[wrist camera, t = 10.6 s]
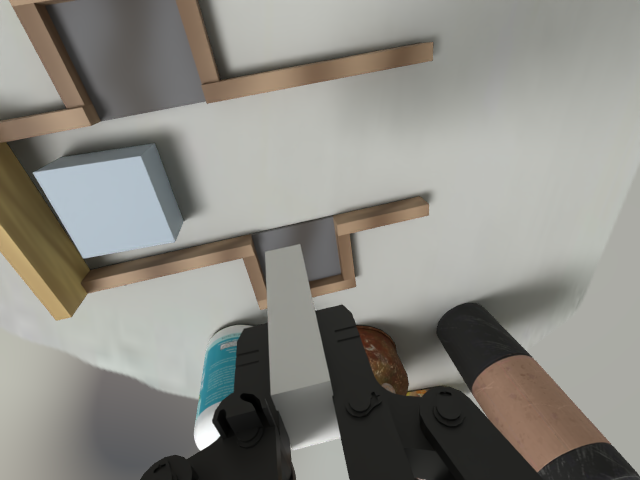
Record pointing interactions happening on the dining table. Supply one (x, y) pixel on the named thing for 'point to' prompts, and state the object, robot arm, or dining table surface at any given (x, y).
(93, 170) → the slate block
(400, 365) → the oil lamp
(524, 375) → the travel mug
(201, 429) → the pill bottle
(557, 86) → the dining table surface
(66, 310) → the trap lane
